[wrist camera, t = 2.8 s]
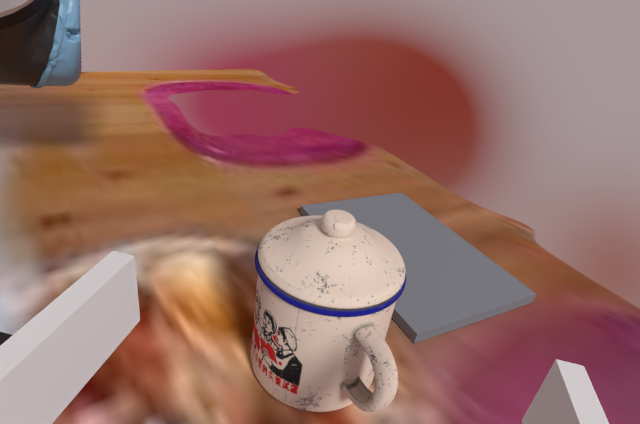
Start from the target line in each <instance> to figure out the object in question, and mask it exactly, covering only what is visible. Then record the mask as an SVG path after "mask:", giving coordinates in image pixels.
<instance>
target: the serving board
mask: <svg viewBox="0 0 640 424" xmlns="http://www.w3.org/2000/svg"><path fill="white" fill-rule="evenodd" d="M330 210H343V211H346V212H348V213H350V214H352V215H353V217H354V218H355V220H356V222H358V223H361V224H363V225H365V226H368V227H370V228H372V229H374V230H375V231H377V232H379V233H380V234H382V235H383V236H384V237H386V238H387V239H388V240H389V241H390V242H391V243H392V244H393V245H394V246H395V247H396V248H397V250H398V251H399V253H400V254H401V257H402V259H403V261H404V265H405V270H406V285H405V288H404V291H403V292H402V294H401V296H400V297H399V298H398V299H397V300H396V304H395V307H394V310H393V314H392V317H391V318H392V319H393V320H394V322H395V323H396V324H397V325H398V326H399V327H400V328H401V329H402V331H403V332H404V333H405V334H406V335H407V336H408V337H409V339H410V340H411V341H412V342H413V343H417V342H420V341H423V340H426V339H429V338H432V337H434V336H437V335H440V334H443V333H446V332H449V331H452V330H455V329H457V328H460V327H463V326H466V325H469V324H472V323H475V322H478V321H480V320H483V319H486V318H489V317H492V316H495V315H498V314H501V313H503V312H506V311H509V310H512V309H515V308H518V307H521V306H524V305H526V304H529V303H532V302H533V300H534V298H535V296H536V294H535V293H534V292H533V291H532V290H530V289H529V288H528V287H526V286H525V285H524V284H522V283H521V282H520V281H518V280H517V279H516V278H514V277H513V276H512V275H510V274H509V273H508V272H506V271H505V270H504V269H502V268H501V267H500V266H498V265H497V264H496V263H494V262H493V261H492V260H490V259H489V258H488V257H486V256H485V255H484V254H482V253H481V252H480V251H478V250H477V249H476V248H474V247H473V246H472V245H471V244H469V243H468V242H467V241H465V240H464V239H463V238H461V237H460V236H459V235H457V234H456V233H455V232H453V231H452V230H451V229H449V228H448V227H447V226H445V225H444V224H443V223H441V222H440V221H439V220H437V219H436V218H435V217H433V216H432V215H431V214H429V213H428V212H427V211H425V210H424V209H423V208H421V207H420V206H419V205H417V204H416V203H415V202H413V201H412V200H411V199H409V198H408V197H407V196H406V195H404V194H403V193H395V194H387V195H379V196H372V197H364V198H357V199H349V200H341V201H334V202H326V203H318V204H311V205H303V206H301V209H300V214H301V216H302V217H303V216H313V215H322V216H323V215H324V214H325V213H326V212H327V211H330Z"/></svg>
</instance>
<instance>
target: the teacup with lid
mask: <svg viewBox="0 0 640 424" xmlns="http://www.w3.org/2000/svg"><path fill="white" fill-rule="evenodd" d="M255 265H256V269H257V272H258V277H257V289H256V300H255V311H254V323H253V334H252V345H251V363H252V368H253V371H254V373H255V375H256V377H257V379H258V381H259V382H260V384H261V385H262V386H263V388H264V389H265V390H266V391H267V392H268V393H269V394H270V395H272V396H273V397H274V398H276V399H277V400H279V401H280V402H282V403H284V404H286V405H288V406H290V407H293V408H296V409H300V410H304V411H310V412H328V411H334V410H338V409H341V408H344V407H346V406H349V405H350V404H352V403H353V404H354V405H355V406H357V407H358V408H359V409H361V410H363V411H365V412H375V411H378V410H381V409H383V408H385V407H387V406H388V405H389V404H390V403H391V402H392V400H393V399H394V397H395V395H396V392H397V387H398V373H397V368H396V364H395V360H394V357H393V355H392V352H391V350H390V348H389V347H388V345H387V343H386V342H385V337H386V334H387V331H388V327H389V324H390V320H391V317H392V314H393V310H394V307H395V304H396V300H397V299H398V298H399V297H400V296H401V294H402V292H403V291H404V288H405V285H406V270H405V265H404V261H403V259H402V257H401V254H400V253H399V251H398V250H397V248H396V247H395V246H394V245H393V244H392V243H391V242H390V241H389V240H388V239H387V238H386V237H384V236H383V235H382V234H380V233H379V232H377V231H375V230H374V229H372V228H370V227H368V226H365V225H363V224H361V223H358V222H356V220H355V218H354V217H353V215H352V214H350V213H348V212H346V211H343V210H330V211H327V212H326V213H325V214H324V215H323V216H322V215H313V216H303V217H297V218H293V219H289V220H286V221H284V222H282V223H280V224H278V225H276V226H275V227H273V228H272V229H271V230H270V231H269V232H268V233H267V234H266V235H265V236H264V237H263V239H262V240H261V242H260V244H259V246H258V248H257V251H256V255H255ZM374 375H375V389H374V392H373V393H372V392H371V391H370V390H369V389H368V388H369V387H370V385H371V383H372V380H373V378H374Z"/></svg>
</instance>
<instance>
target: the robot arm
mask: <svg viewBox="0 0 640 424" xmlns="http://www.w3.org/2000/svg"><path fill="white" fill-rule="evenodd" d="M80 75H81V37H80V0H0V84H7V85H30V86H31V87H33V88H41V87H43V86H68V85H72V84H74V83H75V82H76V81H77V80H78V79H79V77H80ZM139 321H140V313H139V301H138V289H137V277H136V265H135V256H133V255H129V254H125V253H121V252H117V251H112V252H111V253H110V254H108V255H107V256H106V257H105V258H104V259H102V260H101V261H100V262H99V263H98V264H97V265H95V266H94V267H93V268H92V269H91V270H89V271H88V272H87V273H86V274H85V275H83V276H82V277H81V278H80V279H79V280H78V281H76V282H75V283H74V284H73V285H72V286H70V287H69V288H68V289H67V290H66V291H65V292H63V293H62V294H61V295H60V296H59V297H57V298H56V299H55V300H54V301H53V302H51V303H50V304H49V305H48V306H47V307H46V308H44V309H43V310H42V311H41V312H40V313H38V314H37V315H36V316H35V317H34V318H32V319H31V320H30V321H29V322H28V323H27V324H25V325H24V326H23V327H22V328H21V329H19V330H18V331H17V332H16V333H15V334H14V335H10V334H6V333H3V332H0V424H52V423H53V422H54V421H55V420H56V418H57V417H58V416H59V415H60V414H61V413H62V411H63V410H64V409H65V408H66V407H67V406H68V404H69V403H70V402H71V401H72V400H73V398H74V397H75V396H76V395H77V394H78V393H79V391H80V390H81V389H82V388H83V387H84V386H85V384H86V383H87V382H88V381H89V380H90V379H91V377H92V376H93V375H94V374H95V373H96V371H97V370H98V369H99V368H100V367H101V366H102V364H103V363H104V362H105V361H106V360H107V359H108V357H109V356H110V355H111V354H112V353H113V351H114V350H115V349H116V348H117V347H118V346H119V344H120V343H121V342H122V341H123V340H124V339H125V337H126V336H127V335H128V334H129V333H130V332H131V330H132V329H133V328H134V327H135V326H136V324H137V323H138V322H139ZM522 424H609V422H608V420H607V418H606V415H605V413H604V411H603V409H602V406H601V404H600V402H599V400H598V397H597V395H596V393H595V390H594V388H593V386H592V384H591V381H590V379H589V377H588V374H587V372H586V370H585V368H584V366H581V365H577V364H573V363H569V362H565V361H561V360H557V359H556V360H555V362H554V364H553V366H552V367H551V369H550V371H549V373H548V375H547V376H546V378H545V380H544V382H543V383H542V385H541V387H540V389H539V391H538V392H537V394H536V396H535V398H534V400H533V401H532V403H531V405H530V407H529V409H528V410H527V412H526V414H525V416H524V417H523V419H522Z"/></svg>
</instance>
